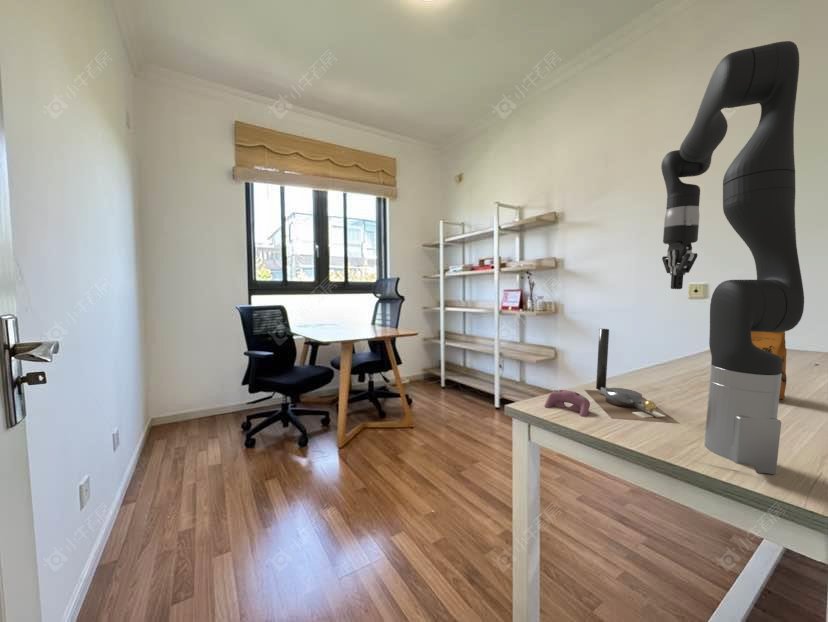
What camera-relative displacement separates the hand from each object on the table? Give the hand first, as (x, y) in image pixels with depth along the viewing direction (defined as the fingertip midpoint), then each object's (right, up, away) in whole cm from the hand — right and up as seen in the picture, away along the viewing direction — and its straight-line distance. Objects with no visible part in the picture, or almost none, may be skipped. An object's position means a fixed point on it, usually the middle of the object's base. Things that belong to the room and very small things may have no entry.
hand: (676, 288), depth 95 cm
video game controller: (-35, -32, -10) cm, 49 cm away
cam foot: (-19, -30, -6) cm, 36 cm away
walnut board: (-18, -32, -7) cm, 37 cm away
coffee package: (+28, -31, +6) cm, 42 cm away
